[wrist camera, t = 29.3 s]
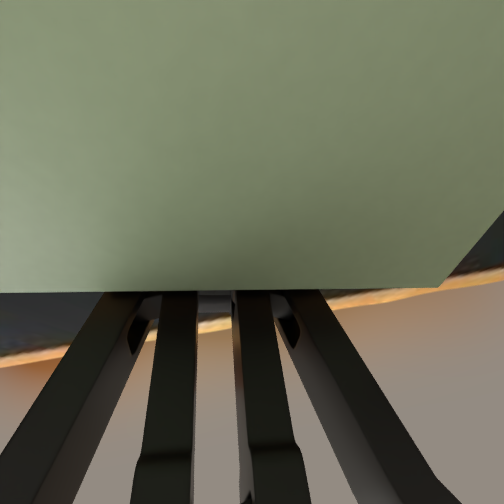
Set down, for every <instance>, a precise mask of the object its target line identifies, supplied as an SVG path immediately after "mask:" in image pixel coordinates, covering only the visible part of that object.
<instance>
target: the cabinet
mask: <svg viewBox="0 0 504 504" xmlns="http://www.w3.org/2000/svg"><path fill="white" fill-rule="evenodd" d="M503 211H504V0H0V293H27V292H110V291H193V290H276V289H358V288H437V287H439V286H440V285H441V284H442V283H443V281H444V280H445V279H446V278H447V277H448V275H449V274H450V273H451V272H452V271H453V270H454V268H455V267H456V266H457V265H458V264H459V262H460V261H461V260H462V259H463V258H464V257H465V255H466V254H467V253H468V252H469V251H470V250H471V248H472V247H473V246H474V245H475V244H476V242H477V241H478V240H479V239H480V238H481V237H482V235H483V234H484V233H485V232H486V231H487V229H488V228H489V227H490V226H491V225H492V224H493V222H494V221H495V220H496V219H497V218H498V216H499V215H500V214H501V213H502V212H503Z"/></svg>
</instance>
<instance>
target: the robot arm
mask: <svg viewBox="0 0 504 504" xmlns="http://www.w3.org/2000/svg"><path fill="white" fill-rule="evenodd" d="M199 295H231V305H230V314H231V321H232V338H233V355H234V374H235V391H236V409H237V427H238V445H239V463H240V479H239V480H240V481H239V483H240V484H239V488H240V489H239V490H240V504H311V499H310V493H309V488H308V482H307V477H306V471H305V466H304V461H303V457H302V453H301V451H300V448H299V447H298V445H297V444H296V442H295V439H294V435H293V429H292V424H291V417H290V412H289V406H288V401H287V394H286V388H285V383H284V377H283V371H282V366H281V360H280V354H279V348H278V342H277V336H276V331H275V325H274V322H275V324H276V326H277V328H278V331H279V332H280V335H281V337H282V339H283V341H284V344H285V346H286V348H287V350H288V352H289V355H290V357H291V359H292V361H293V363H294V365H295V368H296V370H297V372H298V374H299V376H300V379H301V381H302V383H303V385H304V387H305V389H306V392H307V394H308V396H309V398H310V400H311V402H312V405H313V407H314V409H315V411H316V413H317V416H318V418H319V420H320V422H321V424H322V426H323V429H324V431H325V433H326V435H327V438H328V440H329V442H330V444H331V446H332V448H333V451H334V453H335V455H336V457H337V459H338V461H339V464H340V466H341V468H342V470H343V472H344V475H345V477H346V479H347V481H348V483H349V485H350V488H351V490H352V492H353V494H354V496H355V498H356V500H357V502H358V504H462V503H461V502H460V501H459V500H458V499H457V498H456V497H455V496H454V495H453V494H452V493H451V492H450V491H449V490H448V489H447V488H446V487H445V486H444V485H443V484H442V483H441V482H440V481H439V480H438V479H437V478H436V476H435V475H434V473H433V472H432V470H431V468H430V467H429V465H428V464H427V462H426V460H425V459H424V457H423V456H422V454H421V452H420V451H419V449H418V448H417V446H416V445H415V443H414V441H413V440H412V438H411V437H410V435H409V433H408V432H407V430H406V429H405V427H404V425H403V424H402V422H401V420H400V419H399V417H398V416H397V414H396V413H395V411H394V409H393V408H392V406H391V405H390V403H389V401H388V400H387V398H386V397H385V395H384V393H383V392H382V390H381V389H380V387H379V385H378V384H377V382H376V381H375V379H374V378H373V376H372V374H371V373H370V371H369V369H368V368H367V366H366V365H365V363H364V361H363V360H362V358H361V357H360V355H359V354H358V352H357V350H356V349H355V347H354V346H353V344H352V342H351V341H350V339H349V337H348V336H347V334H346V333H345V331H344V329H343V328H342V326H341V325H340V323H339V322H338V320H337V318H336V317H335V315H334V314H333V312H332V310H331V309H330V307H329V306H328V304H327V302H326V301H325V299H324V298H323V296H322V294H321V293H320V291H319V290H318V289H276V290H193V291H110V292H104V294H103V295H102V297H101V299H100V300H99V302H98V303H97V305H96V306H95V308H94V309H93V311H92V313H91V314H90V316H89V317H88V319H87V320H86V322H85V323H84V325H83V327H82V328H81V330H80V331H79V333H78V334H77V336H76V338H75V339H74V341H73V342H72V344H71V345H70V347H69V348H68V350H67V352H66V353H65V355H64V356H63V358H62V359H61V361H60V363H59V364H58V366H57V367H56V369H55V370H54V372H53V373H52V375H51V377H50V378H49V380H48V381H47V383H46V384H45V386H44V387H43V389H42V391H41V392H40V394H39V395H38V397H37V398H36V400H35V402H34V403H33V405H32V406H31V408H30V409H29V411H28V413H27V414H26V416H25V417H24V419H23V420H22V422H21V423H20V425H19V427H18V428H17V430H16V431H15V433H14V434H13V436H12V437H11V439H10V441H9V442H8V444H7V445H6V447H5V448H4V450H3V452H2V453H1V455H0V504H72V503H73V501H74V499H75V496H76V494H77V492H78V490H79V488H80V485H81V483H82V481H83V479H84V476H85V474H86V472H87V470H88V467H89V465H90V463H91V461H92V458H93V456H94V454H95V452H96V449H97V447H98V445H99V443H100V440H101V438H102V436H103V434H104V432H105V429H106V427H107V425H108V423H109V420H110V418H111V416H112V414H113V411H114V409H115V407H116V405H117V402H118V400H119V398H120V396H121V393H122V391H123V389H124V387H125V384H126V382H127V380H128V378H129V375H130V373H131V371H132V369H133V366H134V364H135V362H136V360H137V358H138V355H139V353H140V351H141V348H142V346H143V344H144V342H145V340H146V337H147V335H148V333H149V331H150V328H151V326H152V324H153V322H154V319H157V318H159V324H158V331H157V339H156V346H155V353H154V361H153V368H152V376H151V384H150V390H149V398H148V405H147V412H146V420H145V427H144V435H143V442H142V449H141V454H140V457H139V459H138V461H137V464H136V468H135V473H134V479H133V486H132V493H131V500H130V504H193V501H194V451H195V416H196V414H195V413H196V380H197V379H196V377H197V343H198V340H197V339H198V307H199Z"/></svg>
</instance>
